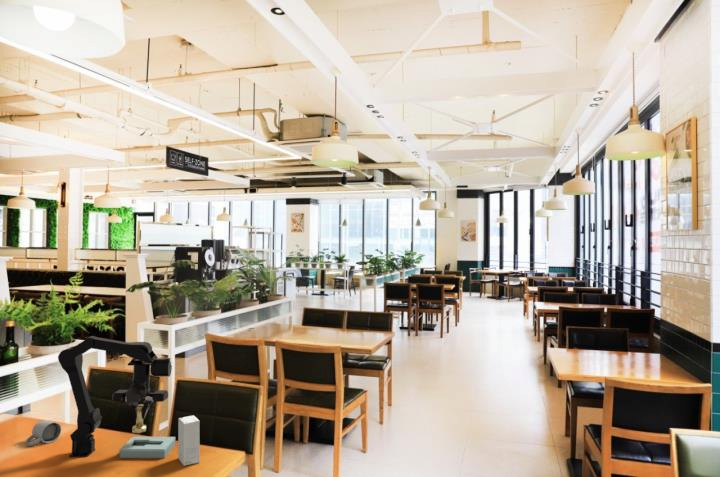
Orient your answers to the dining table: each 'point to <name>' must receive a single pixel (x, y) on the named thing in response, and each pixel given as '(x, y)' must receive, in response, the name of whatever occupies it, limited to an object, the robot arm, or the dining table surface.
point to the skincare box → (188, 440)
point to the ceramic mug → (44, 432)
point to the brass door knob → (139, 420)
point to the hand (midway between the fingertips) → (139, 418)
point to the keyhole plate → (147, 447)
